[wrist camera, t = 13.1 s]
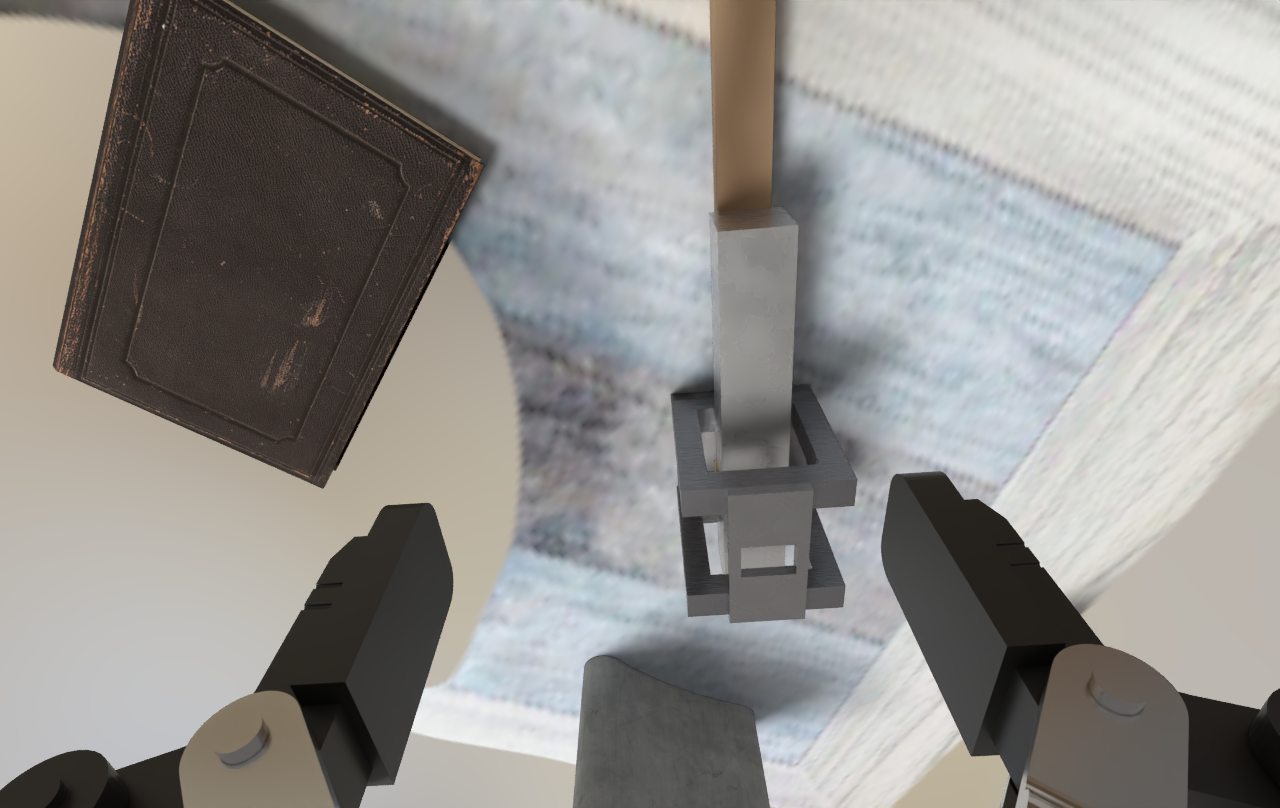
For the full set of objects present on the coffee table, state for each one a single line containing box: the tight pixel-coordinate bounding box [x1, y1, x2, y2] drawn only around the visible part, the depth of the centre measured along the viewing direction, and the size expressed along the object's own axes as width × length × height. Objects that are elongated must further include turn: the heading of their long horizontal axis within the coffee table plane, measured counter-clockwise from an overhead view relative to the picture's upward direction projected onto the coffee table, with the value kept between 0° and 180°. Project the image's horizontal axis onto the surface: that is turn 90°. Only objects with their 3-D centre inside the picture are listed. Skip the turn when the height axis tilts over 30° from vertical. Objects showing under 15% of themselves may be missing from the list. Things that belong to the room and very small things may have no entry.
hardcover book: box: [53, 0, 484, 488], centre depth 34 cm, size 16×23×2 cm
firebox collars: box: [671, 384, 857, 623], centre depth 37 cm, size 8×9×10 cm
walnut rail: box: [710, 0, 776, 212], centre depth 31 cm, size 3×24×2 cm, turn 5°
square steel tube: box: [709, 207, 799, 574], centre depth 35 cm, size 22×4×4 cm, turn 5°
